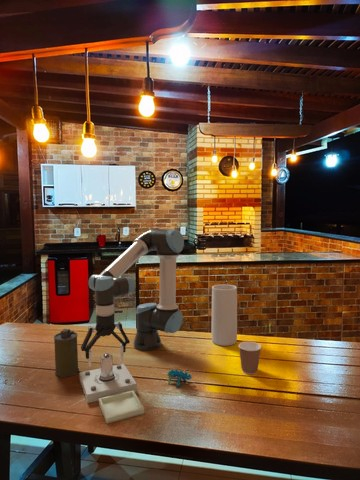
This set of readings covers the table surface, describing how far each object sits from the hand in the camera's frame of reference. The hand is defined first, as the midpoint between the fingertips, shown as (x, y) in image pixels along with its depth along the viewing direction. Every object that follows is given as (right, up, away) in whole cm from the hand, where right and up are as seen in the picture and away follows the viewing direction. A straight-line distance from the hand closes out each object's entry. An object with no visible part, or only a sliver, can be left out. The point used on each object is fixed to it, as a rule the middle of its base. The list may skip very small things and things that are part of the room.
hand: (106, 362), depth 145 cm
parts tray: (+9, -12, -16) cm, 22 cm away
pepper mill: (0, -10, +1) cm, 10 cm away
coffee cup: (+64, -9, +14) cm, 66 cm away
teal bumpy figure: (+31, -10, +3) cm, 33 cm away
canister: (-21, -9, +14) cm, 27 cm away
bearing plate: (0, -10, +1) cm, 10 cm away
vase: (+56, -6, +49) cm, 75 cm away
